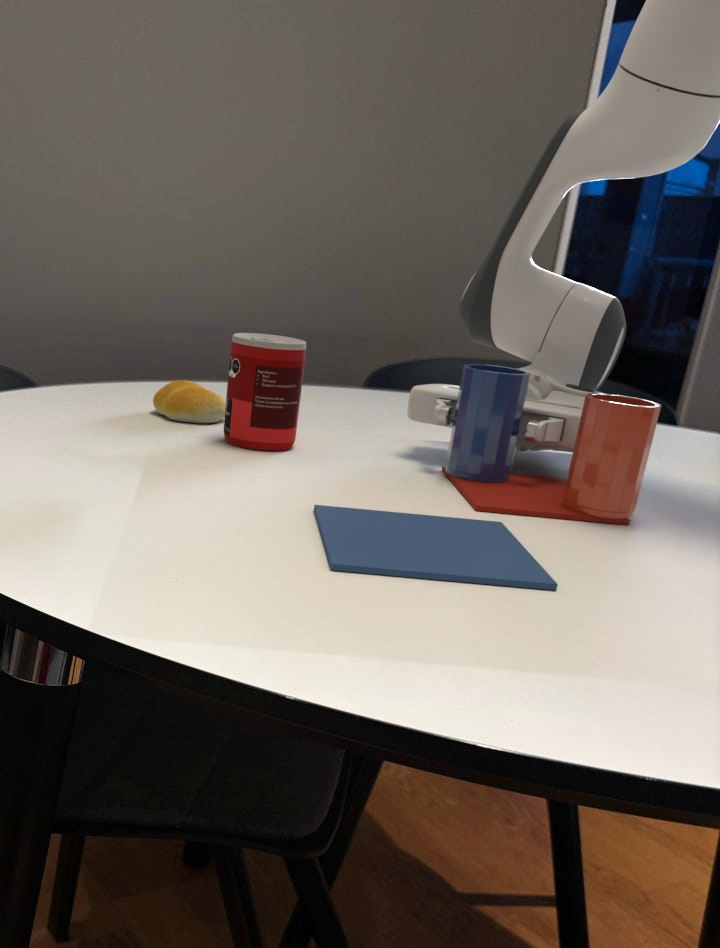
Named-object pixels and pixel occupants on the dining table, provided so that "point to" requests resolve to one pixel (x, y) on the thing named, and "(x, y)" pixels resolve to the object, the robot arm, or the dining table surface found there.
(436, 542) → the blue mat
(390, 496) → the dining table surface
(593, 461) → the red cup
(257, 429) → the canned food
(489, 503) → the red mat
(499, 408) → the blue cup
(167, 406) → the bread roll
